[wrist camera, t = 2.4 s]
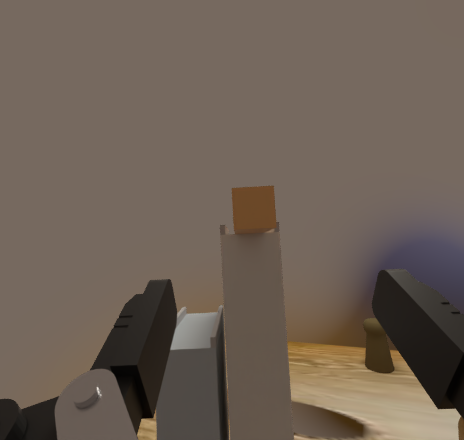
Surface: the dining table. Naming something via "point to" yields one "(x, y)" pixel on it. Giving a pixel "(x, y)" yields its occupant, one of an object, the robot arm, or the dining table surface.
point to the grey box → (195, 381)
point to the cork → (377, 348)
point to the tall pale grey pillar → (256, 336)
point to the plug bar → (253, 209)
